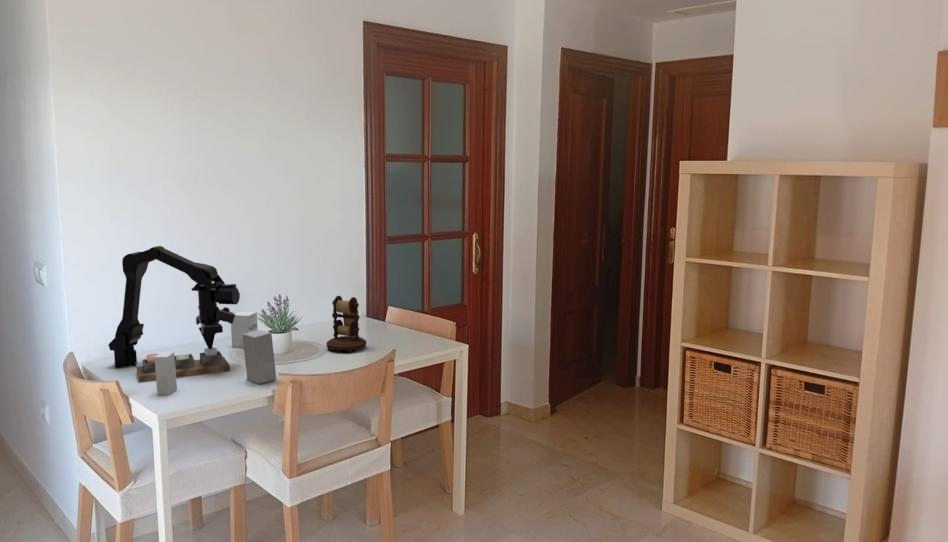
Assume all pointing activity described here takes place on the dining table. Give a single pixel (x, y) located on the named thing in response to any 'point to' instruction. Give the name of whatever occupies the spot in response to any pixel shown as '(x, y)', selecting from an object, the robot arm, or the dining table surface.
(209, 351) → the slate button
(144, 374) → the button panel
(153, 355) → the terracotta button
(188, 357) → the sage button
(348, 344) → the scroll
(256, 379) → the skincare box
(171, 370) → the skincare box
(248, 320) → the supplement box
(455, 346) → the dining table surface
